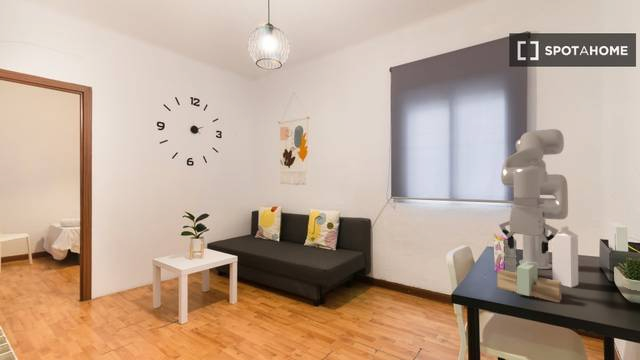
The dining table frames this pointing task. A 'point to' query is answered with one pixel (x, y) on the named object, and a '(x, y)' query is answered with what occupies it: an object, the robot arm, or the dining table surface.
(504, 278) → the oak rail
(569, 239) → the milk
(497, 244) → the candy bar box
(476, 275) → the dining table surface
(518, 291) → the pale green rectangular block
